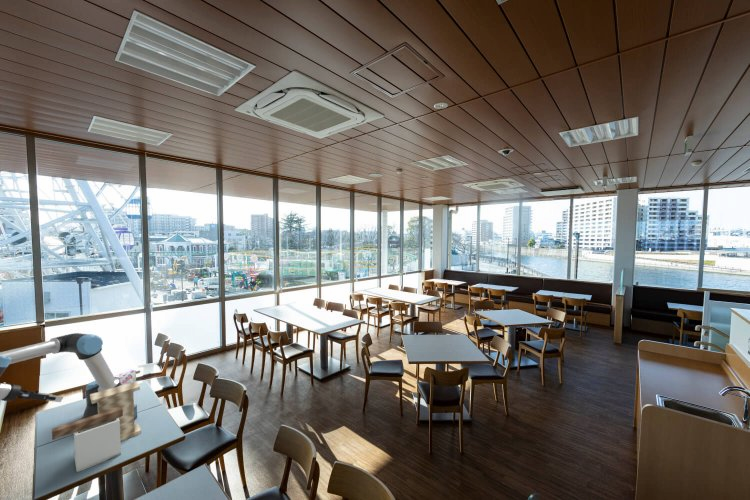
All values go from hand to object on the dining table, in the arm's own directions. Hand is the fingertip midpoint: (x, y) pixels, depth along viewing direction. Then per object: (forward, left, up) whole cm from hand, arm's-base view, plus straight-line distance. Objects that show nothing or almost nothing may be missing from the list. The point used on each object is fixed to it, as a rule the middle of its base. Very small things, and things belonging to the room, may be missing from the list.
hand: (56, 398), depth 172 cm
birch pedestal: (-13, +22, -33) cm, 41 cm away
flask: (-31, +18, -33) cm, 48 cm away
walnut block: (+6, +22, -13) cm, 26 cm away
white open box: (+4, +25, -33) cm, 41 cm away
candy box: (-67, -13, -33) cm, 75 cm away
